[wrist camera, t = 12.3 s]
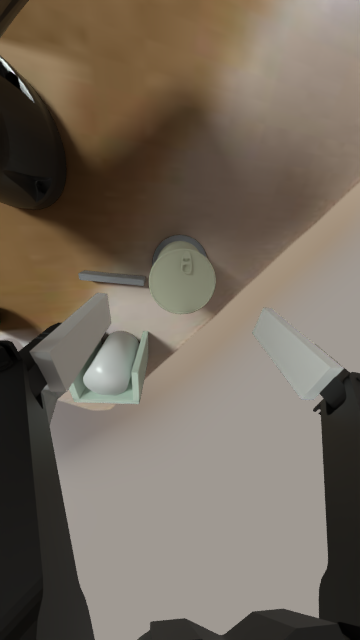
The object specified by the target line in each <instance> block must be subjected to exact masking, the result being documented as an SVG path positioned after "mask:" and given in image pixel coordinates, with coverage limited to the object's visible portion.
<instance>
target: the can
mask: <svg viewBox="0 0 360 640" xmlns="http://www.w3.org/2000/svg"><path fill="white" fill-rule="evenodd" d="M215 285H216V276H215V272H214V269H213V266H212V265H211V263H210V261H209V260H208V259H207V258H206V257H205V256H204V255H203V254H201V253H200V252H199V251H198V249H197V248H196V247H195V246H194V245H192V244H190V243H188V242H185V241H175V242H172V243H170V244H168V245H166V246H165V247H164V248H163V249H162V250H161V252H160V254H159V256H158V259H157V260H156V262H155V263H154V265H153V266H152V269H151V271H150V275H149V288H150V292H151V295H152V297H153V298H154V300H155V301H156V303H157V304H158V305H159V306H160V307H162V308H163V309H165V310H167V311H169V312H171V313H175V314H188V313H192V312H195V311H197V310H199V309H200V308H202V307H203V306H204V305H205V304H207V302H208V301H209V300H210V298H211V297H212V295H213V293H214V290H215Z"/></svg>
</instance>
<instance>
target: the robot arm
mask: <svg viewBox="0 0 360 640" xmlns="http://www.w3.org/2000/svg"><path fill="white" fill-rule="evenodd" d="M28 1H29V0H0V38H1V36H2V35H3V33H4V32H5V31H6V29H7V28H8V27H9V25H10V24H11V23H12V21H13V20H14V18H15V17H16V16H17V14H18V13H19V12H20V10H21V9H22V8H23V7H24V6H25V4H26V3H27V2H28ZM65 180H66V159H65V153H64V148H63V144H62V141H61V138H60V135H59V132H58V130H57V127H56V125H55V123H54V121H53V119H52V117H51V115H50V113H49V111H48V109H47V108H46V106H45V104H44V103H43V101H42V100H41V98H40V97H39V96H38V94H37V93H36V92H35V90H34V89H33V88H32V87H31V85H30V84H29V83H28V82H27V81H26V80H25V79H24V78H23V77H22V76H21V75H20V74H19V73H18V72H17V71H16V70H15V69H14V68H13V67H12V66H11V65H10V64H9V63H8V62H7V61H6V60H5V59H4V58H3V57H2V56H0V202H1V203H4V204H7V205H10V206H13V207H18V208H25V209H43V208H46V207H48V206H50V205H52V204H53V203H54V202H55V201H56V200H57V199H58V198H59V196H60V195H61V193H62V191H63V188H64V185H65ZM110 324H111V317H110V310H109V303H108V296H107V294H105V293H96V294H95V295H94V296H93V297H92V298H91V299H89V300H88V301H87V302H86V303H85V304H84V305H83V306H81V307H80V308H79V309H78V310H77V311H76V312H74V313H73V314H72V315H71V316H70V317H69V318H68V319H66V320H65V321H64V322H63V323H57V324H55V325H52V326H50V327H49V328H47V329H46V330H45V331H44V332H42V334H40V335H39V336H37V338H35V339H34V340H32V341H31V342H30V343H29V344H28V345H26V346H25V347H24V348H23V349H21V350H20V351H19V352H18V351H17V349H16V347H15V346H14V344H13V343H12V342H10V341H0V640H95V639H94V634H93V629H92V624H91V619H90V615H89V610H88V606H87V603H86V600H85V597H84V595H83V592H82V590H81V588H80V584H79V581H78V576H77V571H76V566H75V560H74V555H73V550H72V545H71V539H70V534H69V529H68V523H67V518H66V512H65V507H64V502H63V496H62V491H61V486H60V480H59V475H58V470H57V464H56V459H55V454H54V448H53V443H52V438H51V432H50V427H49V422H48V416H47V411H46V406H45V400H44V395H43V393H42V392H41V391H42V390H43V389H44V387H45V386H46V385H48V387H49V389H50V391H51V392H67V391H68V389H69V388H70V386H71V385H72V383H73V382H74V380H75V378H76V377H77V375H78V374H79V372H80V371H81V369H82V368H83V366H84V365H85V363H86V361H87V360H88V358H89V357H90V355H91V354H92V352H93V351H94V349H95V348H96V346H97V344H98V343H99V341H100V340H101V338H102V337H103V335H104V334H105V332H106V330H107V329H108V327H109V326H110ZM252 333H253V335H254V336H255V337H256V339H257V340H258V342H259V343H260V344H261V346H262V347H263V348H264V350H265V351H266V352H267V354H268V355H269V356H270V358H271V359H272V361H273V362H274V363H275V364H276V366H277V367H278V369H279V370H280V371H281V373H282V374H283V375H284V377H285V378H286V379H287V381H288V382H289V383H290V385H291V386H292V388H293V389H294V390H295V391H296V393H297V394H298V396H299V397H300V398H301V399H302V400H314V399H315V398H316V397H317V396H318V395H319V394H320V395H321V396H322V397H323V398H324V399H323V400H322V401H321V402H320V403H319V404H318V405H317V406H316V407H315V408H314V409H313V411H314V412H316V411H317V410H318V409H320V410H321V412H320V413H319V414H320V415H321V424H322V444H323V464H324V483H325V504H326V523H327V543H328V566H327V570H326V572H325V574H324V575H323V577H322V579H321V583H320V587H319V618H315V617H312V616H308V615H304V614H301V613H297V612H293V611H290V610H286V609H276V610H265V611H255V612H252V613H250V614H249V615H248V616H247V617H245V618H244V619H243V620H242V621H240V622H239V623H238V624H237V625H236V626H234V627H233V628H232V629H231V630H229V631H228V632H227V633H226V634H224V635H218V634H216V633H214V632H212V631H210V630H208V629H206V628H204V627H201V626H200V625H198V624H195V623H193V622H191V621H189V620H187V619H185V618H184V619H173V620H163V621H153V622H151V623H150V630H149V631H148V632H147V633H145V634H144V635H142V636H141V637H140V638H139V639H138V640H360V373H356V372H351V373H350V372H348V371H347V370H346V369H345V368H343V367H342V366H341V365H340V364H339V363H338V362H336V361H335V360H334V359H333V358H332V357H330V356H329V355H328V354H326V353H325V352H324V351H323V350H322V349H320V348H319V347H318V346H317V345H316V344H314V343H313V342H312V341H310V340H309V339H308V338H307V337H306V336H304V335H303V334H302V333H301V332H300V331H298V330H297V329H296V328H294V326H292V325H291V324H290V323H289V322H288V321H286V320H285V319H284V318H283V317H282V316H280V315H279V314H278V313H277V312H276V311H274V310H273V309H272V308H263V310H262V312H261V314H260V317H259V319H258V321H257V324H256V326H255V328H254V330H253V332H252Z"/></svg>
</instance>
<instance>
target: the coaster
mask: <svg viewBox="0 0 360 640" xmlns="http://www.w3.org/2000/svg"><path fill="white" fill-rule="evenodd" d="M175 241H185V242H188V243H190V244H192V245H194V246H195V247H196V248H197V249H198V251H199V252H200V253H201V254H203V255H204V256H205V257H206V258H207V256H206V253H205V251H204V249H203V247H202V246H201V245H200V244H199V243H198V242H197V241H196V240H195V239H193V238H191V237H189V236H185V235H175V236H171V237H169V238H167V239H165V240H164V241H163V242H161V244H160V245H159V246H158V247H157V249H156V251H155V253H154V256H153V261H152V266H153V265H154V263H155V262H156V260H157V259H158V256H159V254H160V252H161V250H162V249H163V248H164V247H165V246H166V245H168V244H170V243H172V242H175Z"/></svg>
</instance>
